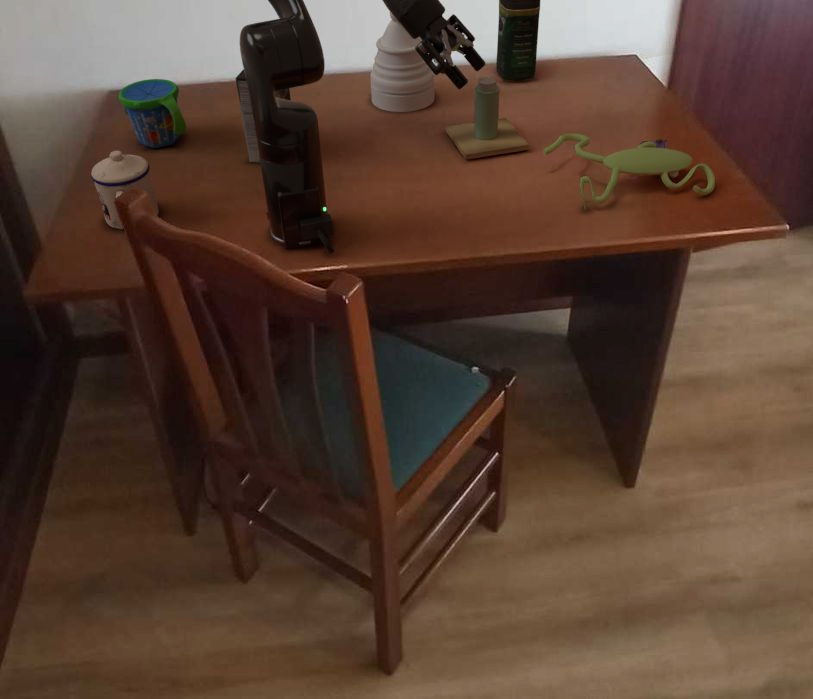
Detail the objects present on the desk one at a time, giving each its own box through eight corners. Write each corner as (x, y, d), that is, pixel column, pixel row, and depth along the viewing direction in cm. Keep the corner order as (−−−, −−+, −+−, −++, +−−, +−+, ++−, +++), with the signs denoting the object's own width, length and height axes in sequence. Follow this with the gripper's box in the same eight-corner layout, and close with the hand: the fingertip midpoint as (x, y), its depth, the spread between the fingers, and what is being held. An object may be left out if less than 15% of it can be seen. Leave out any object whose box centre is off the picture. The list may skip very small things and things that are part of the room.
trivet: (528, 151, 158) (529, 144, 157) (465, 161, 155) (465, 154, 154) (505, 124, 167) (505, 117, 166) (445, 133, 164) (445, 126, 163)
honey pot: (423, 115, 171) (421, 22, 159) (362, 108, 174) (356, 17, 163) (442, 89, 180) (441, 0, 169) (383, 83, 183) (379, -5, 172)
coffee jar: (539, 81, 181) (545, -10, 170) (502, 84, 181) (505, -8, 169) (528, 64, 189) (534, -25, 177) (493, 67, 188) (496, -23, 176)
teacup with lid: (107, 206, 147) (88, 143, 140) (161, 200, 148) (146, 137, 141) (100, 244, 138) (80, 178, 130) (158, 237, 139) (142, 171, 132)
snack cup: (114, 137, 167) (101, 86, 161) (161, 119, 173) (150, 70, 166) (157, 163, 159) (145, 110, 152) (206, 143, 164) (196, 92, 158)
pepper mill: (501, 138, 159) (503, 83, 152) (478, 141, 158) (479, 87, 151) (492, 128, 162) (494, 74, 156) (470, 131, 161) (471, 77, 155)
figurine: (536, 161, 155) (538, 132, 151) (680, 146, 157) (685, 117, 153) (566, 213, 141) (569, 183, 137) (723, 197, 143) (730, 166, 139)
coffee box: (264, 140, 165) (252, 56, 154) (297, 142, 163) (286, 58, 153) (248, 162, 158) (234, 77, 147) (281, 165, 157) (270, 79, 146)
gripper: (416, 5, 158) (473, 74, 162) (381, 31, 148) (443, 104, 152) (442, -23, 153) (501, 50, 156) (408, 2, 143) (472, 79, 147)
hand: (473, 76), depth 154 cm, fingers open, 8 cm apart
